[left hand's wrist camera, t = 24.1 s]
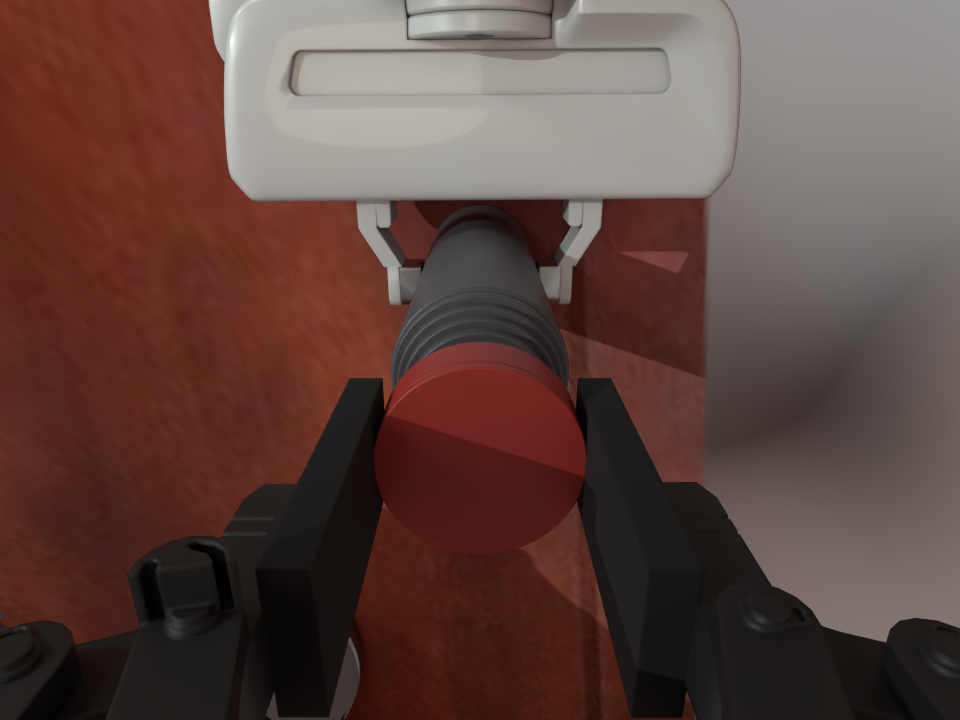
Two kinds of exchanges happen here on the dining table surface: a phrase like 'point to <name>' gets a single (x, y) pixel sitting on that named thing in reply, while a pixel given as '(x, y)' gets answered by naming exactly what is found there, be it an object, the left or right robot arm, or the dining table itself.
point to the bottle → (480, 294)
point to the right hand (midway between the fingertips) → (481, 301)
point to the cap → (480, 449)
